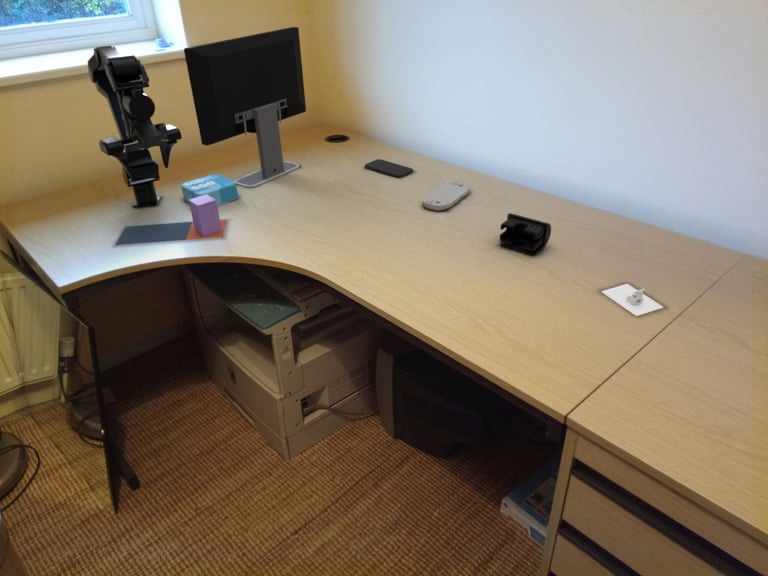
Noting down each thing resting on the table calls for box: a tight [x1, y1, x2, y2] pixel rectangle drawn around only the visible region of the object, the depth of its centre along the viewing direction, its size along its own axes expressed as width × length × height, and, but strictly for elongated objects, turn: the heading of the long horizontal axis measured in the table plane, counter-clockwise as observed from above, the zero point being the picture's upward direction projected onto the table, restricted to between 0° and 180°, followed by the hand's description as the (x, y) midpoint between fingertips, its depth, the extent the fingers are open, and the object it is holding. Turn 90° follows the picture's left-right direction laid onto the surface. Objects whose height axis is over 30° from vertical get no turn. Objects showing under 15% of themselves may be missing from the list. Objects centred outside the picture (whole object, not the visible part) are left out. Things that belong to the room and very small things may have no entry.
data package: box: [180, 173, 239, 206], centre depth 167 cm, size 12×4×12 cm
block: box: [188, 194, 222, 237], centre depth 148 cm, size 5×5×8 cm
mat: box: [114, 218, 228, 246], centre depth 150 cm, size 26×10×1 cm, turn 97°
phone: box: [364, 158, 414, 178], centre depth 184 cm, size 7×1×15 cm
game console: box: [422, 180, 471, 212], centre depth 163 cm, size 18×2×8 cm
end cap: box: [499, 212, 552, 257], centre depth 138 cm, size 10×7×7 cm
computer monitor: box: [183, 26, 307, 188], centre depth 173 cm, size 41×8×40 cm, turn 144°
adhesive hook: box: [625, 288, 645, 305], centre depth 117 cm, size 3×3×3 cm
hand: (149, 172), depth 151 cm, fingers open, 9 cm apart
